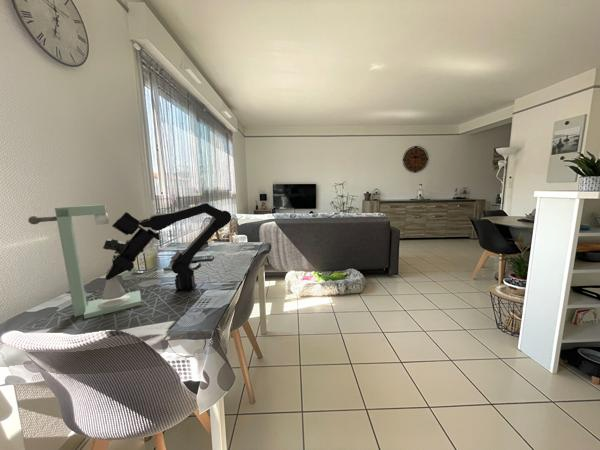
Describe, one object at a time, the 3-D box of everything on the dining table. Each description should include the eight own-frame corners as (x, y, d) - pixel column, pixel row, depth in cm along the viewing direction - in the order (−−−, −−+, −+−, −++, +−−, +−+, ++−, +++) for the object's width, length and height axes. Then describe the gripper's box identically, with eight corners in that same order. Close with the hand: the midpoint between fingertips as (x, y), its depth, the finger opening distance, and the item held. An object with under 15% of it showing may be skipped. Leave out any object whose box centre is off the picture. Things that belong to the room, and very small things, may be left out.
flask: (122, 298, 90) (119, 271, 89) (97, 302, 88) (94, 274, 86) (128, 291, 97) (125, 265, 96) (105, 294, 94) (102, 268, 93)
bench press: (140, 294, 102) (127, 202, 97) (141, 304, 92) (127, 204, 87) (53, 313, 88) (32, 208, 83) (43, 328, 78) (19, 210, 73)
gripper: (118, 226, 99) (86, 260, 94) (116, 233, 83) (78, 273, 79) (144, 243, 104) (116, 275, 100) (147, 252, 89) (113, 290, 84)
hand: (106, 278), depth 91 cm, fingers closed on flask, 3 cm apart
